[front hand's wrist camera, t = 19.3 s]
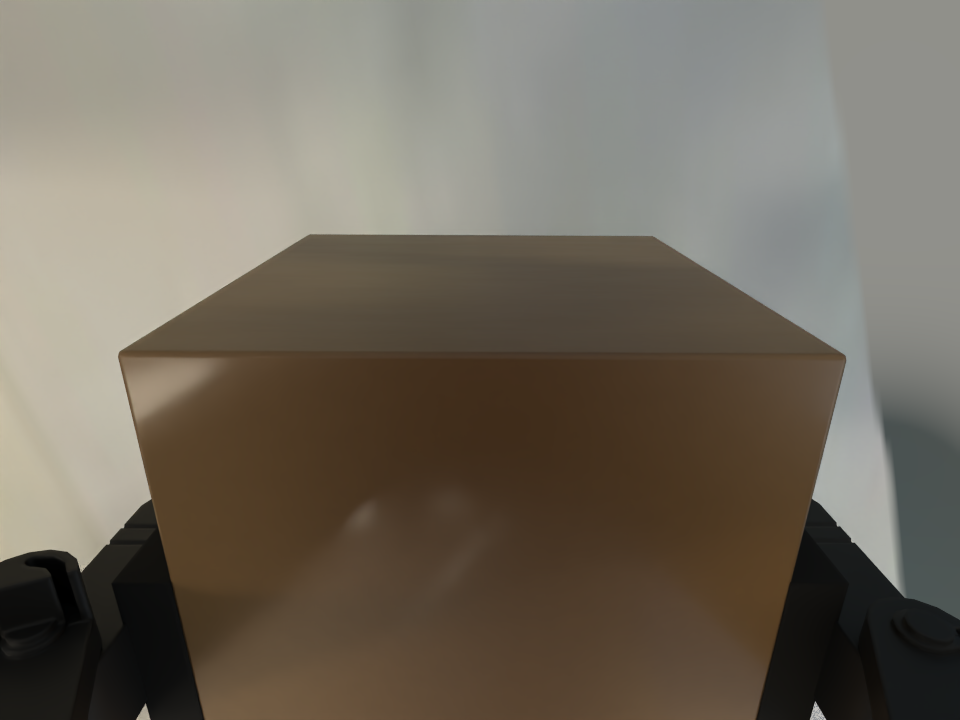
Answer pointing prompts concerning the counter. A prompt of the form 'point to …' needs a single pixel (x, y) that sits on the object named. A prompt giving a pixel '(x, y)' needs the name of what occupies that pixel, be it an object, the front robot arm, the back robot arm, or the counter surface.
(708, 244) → the counter surface
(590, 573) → the block
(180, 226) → the counter surface
